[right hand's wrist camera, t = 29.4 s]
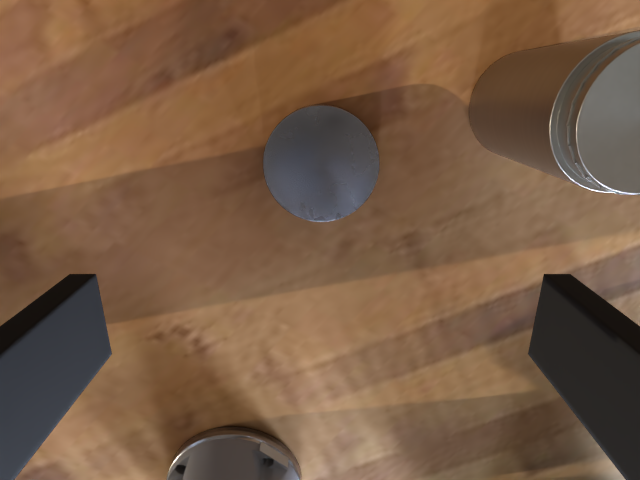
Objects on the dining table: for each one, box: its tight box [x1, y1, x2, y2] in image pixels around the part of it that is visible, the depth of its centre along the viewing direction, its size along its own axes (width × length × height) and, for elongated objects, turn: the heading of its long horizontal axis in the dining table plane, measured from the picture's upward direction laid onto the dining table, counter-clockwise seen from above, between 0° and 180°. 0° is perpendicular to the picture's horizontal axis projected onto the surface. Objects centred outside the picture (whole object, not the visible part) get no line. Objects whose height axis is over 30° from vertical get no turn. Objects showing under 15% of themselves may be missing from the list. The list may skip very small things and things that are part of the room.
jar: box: [469, 30, 640, 195], centre depth 28 cm, size 8×8×15 cm
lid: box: [263, 104, 379, 222], centre depth 36 cm, size 10×10×2 cm
